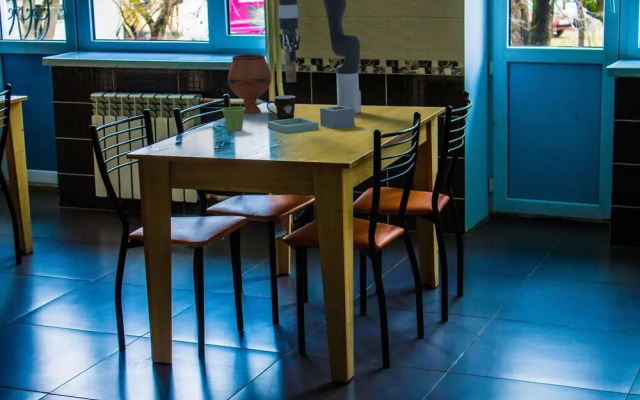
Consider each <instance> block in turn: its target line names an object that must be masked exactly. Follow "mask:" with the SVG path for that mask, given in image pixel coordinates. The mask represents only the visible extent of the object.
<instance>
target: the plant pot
mask: <svg viewBox="0 0 640 400" xmlns="http://www.w3.org/2000/svg"><path fill="white" fill-rule="evenodd" d="M244 107H245V106H230V107H229V106H228V107H224V108H221V111H222V114H223V117H224V122H225V125H226V131H228V132H236V131H238V132H239V131H242V130H243V127H244V125H243V124H244V115H245V114H244V110H245V108H244Z"/></svg>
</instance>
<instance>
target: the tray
mask: <svg viewBox="0 0 640 400" xmlns="http://www.w3.org/2000/svg"><path fill="white" fill-rule="evenodd" d="M319 127H320V126H319V121H314V120H312V119H307V118H304V117H294V118H293V119H285V120H278V119H277V120H270V121H267V129H270V130H273V131H277V132H280V133H283V134H289V133H296V132H298V133H299V132H303V131H304V132H305V131H313V130H319V129H320V128H319Z"/></svg>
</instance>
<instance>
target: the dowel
mask: <svg viewBox="0 0 640 400" xmlns="http://www.w3.org/2000/svg"><path fill="white" fill-rule="evenodd" d="M296 61H297V60H296ZM296 61H293V62H291V61H290V49H289V46H285V52H284V63H285V82H286V83H296V82H297V65H296V64H297V63H296Z"/></svg>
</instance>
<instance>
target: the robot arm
mask: <svg viewBox="0 0 640 400" xmlns="http://www.w3.org/2000/svg"><path fill="white" fill-rule="evenodd" d="M322 1H323V6H324V10H325V15H326V19H327V24H328V31H329V37H330V46H331V49H332V52H333V54H334V55H335V56H337V57H344V60H343V62H342V64H339V65H338V66H336V95H337V96H336V97H337V98H336V101H337V106H345V107H350V108H354V115H355V114H359V113H362V94H361V93H362V92H361V90H360V87H359V85H360V84H359V69H360V68H359V67H360V63H361V59H360V58H361V43H360V40H359V38H358V37H357V35H354V34H345V33H344V29H343V18H344V14H345V11H346V8H347V1H346V0H322ZM278 24H279V25H278V26H279V30H282V33H281V34H280V33H279V34H278V38H279V43H280V48H281V50H283V52H284V53H285V46H289V49H290V61H291V62H293V61H297V55H296V53H297V51H299V50H300V44H301V43H300V41H301V35H297V31H296V30H298V29H299V9H298V0H278Z"/></svg>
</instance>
